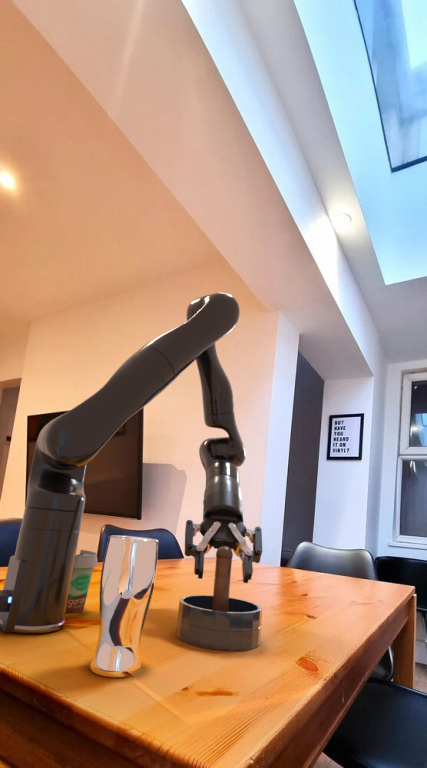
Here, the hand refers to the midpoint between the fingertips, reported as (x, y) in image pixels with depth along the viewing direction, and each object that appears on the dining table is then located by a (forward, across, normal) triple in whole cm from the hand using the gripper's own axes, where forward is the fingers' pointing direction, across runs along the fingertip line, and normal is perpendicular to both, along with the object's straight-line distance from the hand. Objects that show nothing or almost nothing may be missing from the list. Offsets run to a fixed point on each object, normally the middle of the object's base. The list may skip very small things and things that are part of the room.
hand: (223, 577), depth 68 cm
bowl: (+6, 0, +8) cm, 10 cm away
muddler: (+5, 0, +7) cm, 9 cm away
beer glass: (+17, -14, -3) cm, 22 cm away
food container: (-1, -26, +15) cm, 30 cm away
